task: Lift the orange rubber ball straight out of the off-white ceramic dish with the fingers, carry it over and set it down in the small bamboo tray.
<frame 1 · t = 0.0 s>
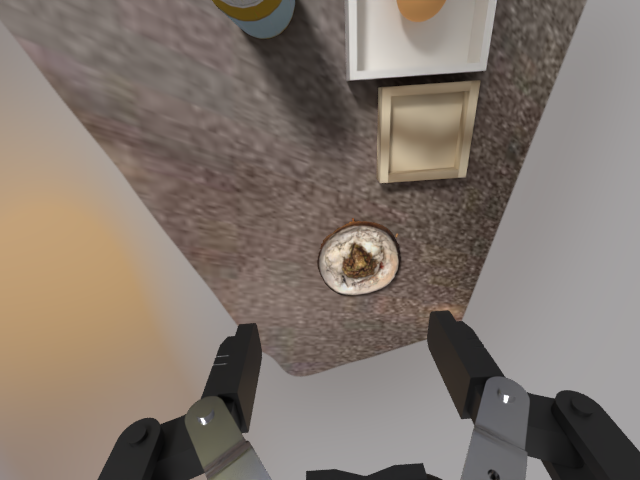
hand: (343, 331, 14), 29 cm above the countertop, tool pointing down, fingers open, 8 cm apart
bottle: (262, 1, 32), on the countertop
sushi roll: (358, 254, 47), on the countertop
tray: (420, 132, 38), on the countertop
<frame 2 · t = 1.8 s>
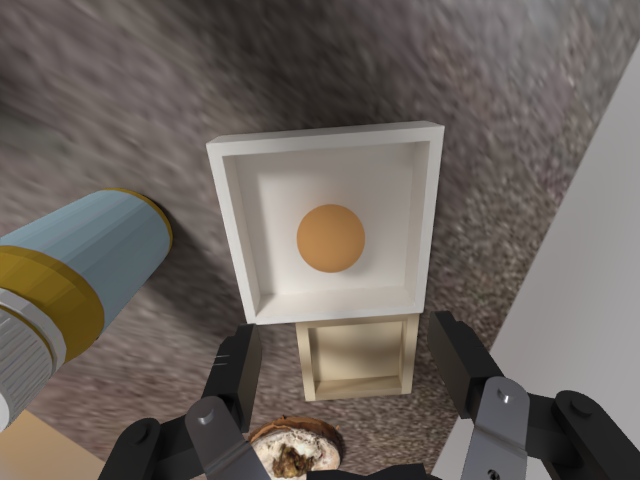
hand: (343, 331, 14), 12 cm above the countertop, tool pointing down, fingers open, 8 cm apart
ball: (328, 224, 24), point 1 cm above the countertop, touching dish
bottle: (132, 226, 25), on the countertop
sushi roll: (295, 439, 40), on the countertop
dish: (328, 221, 25), on the countertop
tray: (354, 342, 31), on the countertop
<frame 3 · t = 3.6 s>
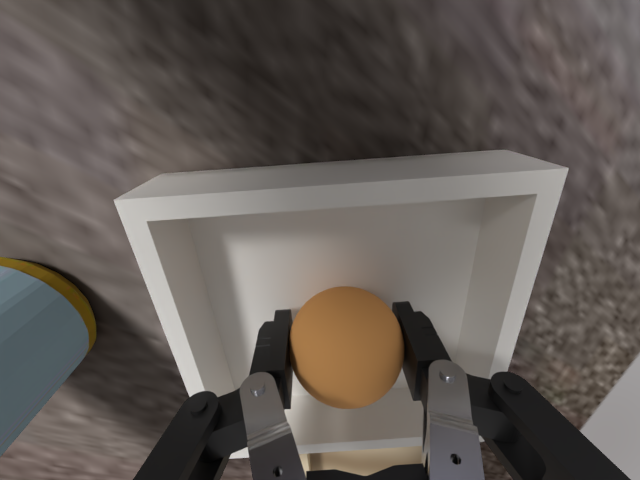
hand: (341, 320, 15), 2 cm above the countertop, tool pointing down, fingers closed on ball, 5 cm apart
ball: (340, 307, 15), point 1 cm above the countertop, touching dish, gripper
bottle: (36, 306, 16), on the countertop
dish: (339, 300, 16), on the countertop
tray: (373, 448, 22), on the countertop
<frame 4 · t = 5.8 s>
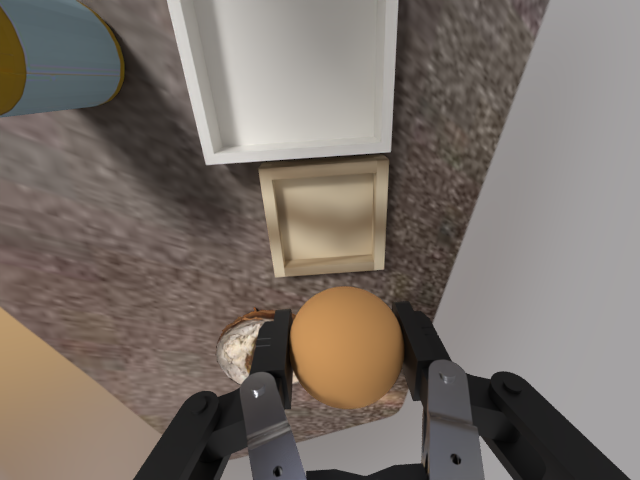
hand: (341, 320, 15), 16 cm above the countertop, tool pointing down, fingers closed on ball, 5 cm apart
ball: (340, 307, 15), point 15 cm above the countertop, touching gripper
bottle: (82, 55, 23), on the countertop
sushi roll: (270, 342, 39), on the countertop
dish: (290, 53, 23), on the countertop
tray: (325, 214, 30), on the countertop
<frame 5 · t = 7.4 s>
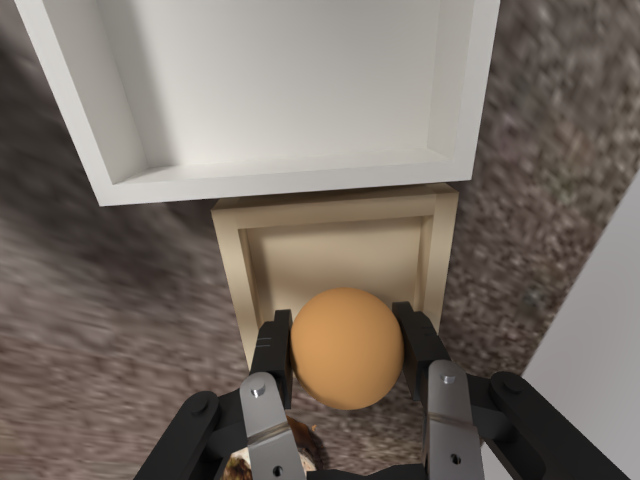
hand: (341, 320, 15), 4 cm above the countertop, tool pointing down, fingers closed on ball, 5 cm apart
ball: (340, 308, 15), point 3 cm above the countertop, touching gripper
sushi roll: (252, 445, 26), on the countertop
tray: (335, 276, 18), on the countertop
when the fingers open (3 cm above the countertop, at t = 8.2 s): ball drops 1 cm, resting on tray.
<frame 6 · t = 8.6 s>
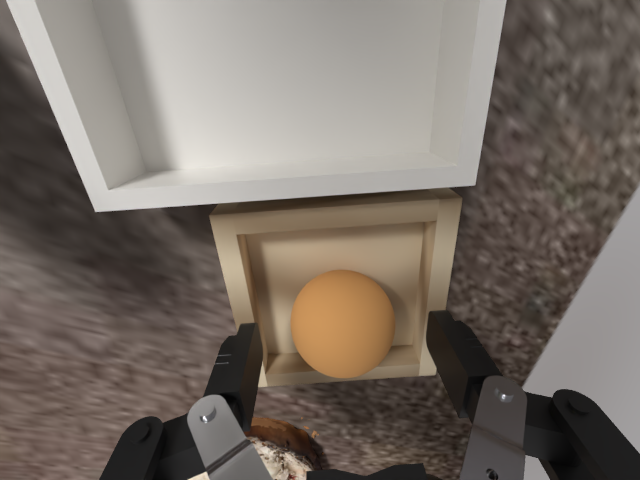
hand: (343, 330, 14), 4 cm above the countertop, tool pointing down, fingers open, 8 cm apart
ball: (337, 290, 17), point 1 cm above the countertop, touching tray
sushi roll: (251, 452, 26), on the countertop
tray: (336, 282, 17), on the countertop
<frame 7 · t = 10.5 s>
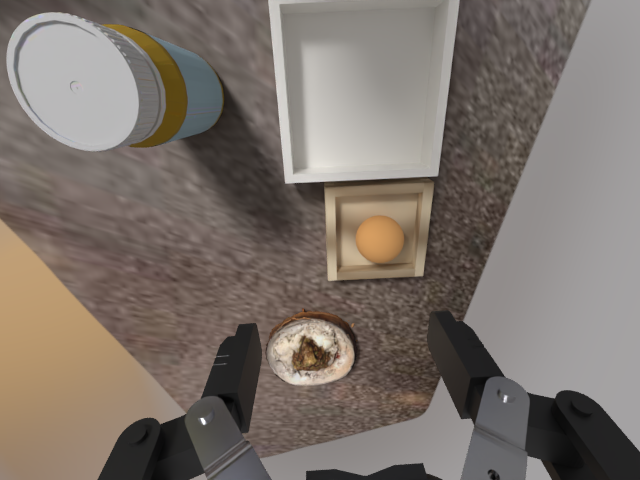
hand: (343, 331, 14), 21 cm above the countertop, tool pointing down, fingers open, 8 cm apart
ball: (375, 229, 34), point 1 cm above the countertop, touching tray
bottle: (189, 94, 29), on the countertop
sushi roll: (312, 342, 42), on the countertop
dish: (357, 95, 29), on the countertop
tray: (373, 226, 35), on the countertop
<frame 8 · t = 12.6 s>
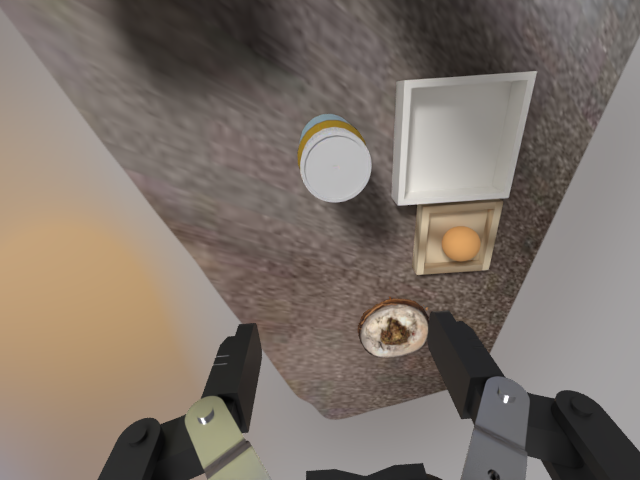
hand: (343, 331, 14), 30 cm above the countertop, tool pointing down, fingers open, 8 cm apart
ball: (453, 235, 45), point 1 cm above the countertop, touching tray
bottle: (327, 142, 39), on the countertop
sushi roll: (392, 323, 54), on the countertop
dish: (449, 140, 39), on the countertop
tray: (450, 233, 45), on the countertop
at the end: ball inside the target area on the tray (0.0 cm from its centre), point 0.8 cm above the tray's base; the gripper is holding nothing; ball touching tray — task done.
